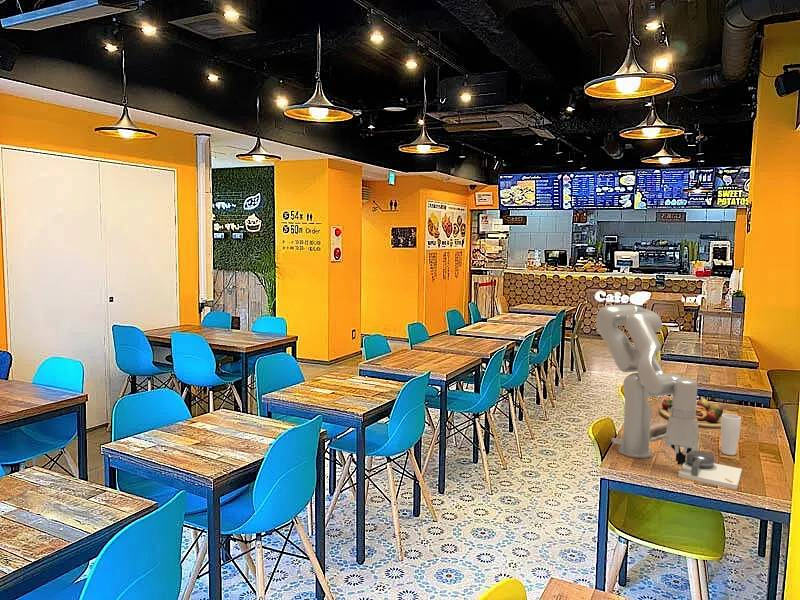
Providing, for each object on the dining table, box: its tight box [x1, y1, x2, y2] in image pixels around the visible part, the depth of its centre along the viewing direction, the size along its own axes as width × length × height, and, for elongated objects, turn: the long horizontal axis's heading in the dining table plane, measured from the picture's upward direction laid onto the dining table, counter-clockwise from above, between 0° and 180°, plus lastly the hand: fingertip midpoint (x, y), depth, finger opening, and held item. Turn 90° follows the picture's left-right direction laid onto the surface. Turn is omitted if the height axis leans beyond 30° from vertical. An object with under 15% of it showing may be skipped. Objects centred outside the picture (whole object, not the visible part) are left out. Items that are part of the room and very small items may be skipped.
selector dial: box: [686, 450, 715, 475], centre depth 215 cm, size 18×9×3 cm, turn 146°
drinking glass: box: [720, 413, 742, 456], centre depth 235 cm, size 7×7×15 cm
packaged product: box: [649, 421, 668, 443], centre depth 256 cm, size 18×5×10 cm
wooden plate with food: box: [659, 397, 727, 430], centre depth 282 cm, size 32×32×8 cm
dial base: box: [677, 461, 743, 490], centre depth 213 cm, size 18×18×2 cm
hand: (680, 463), depth 215 cm, fingers closed
